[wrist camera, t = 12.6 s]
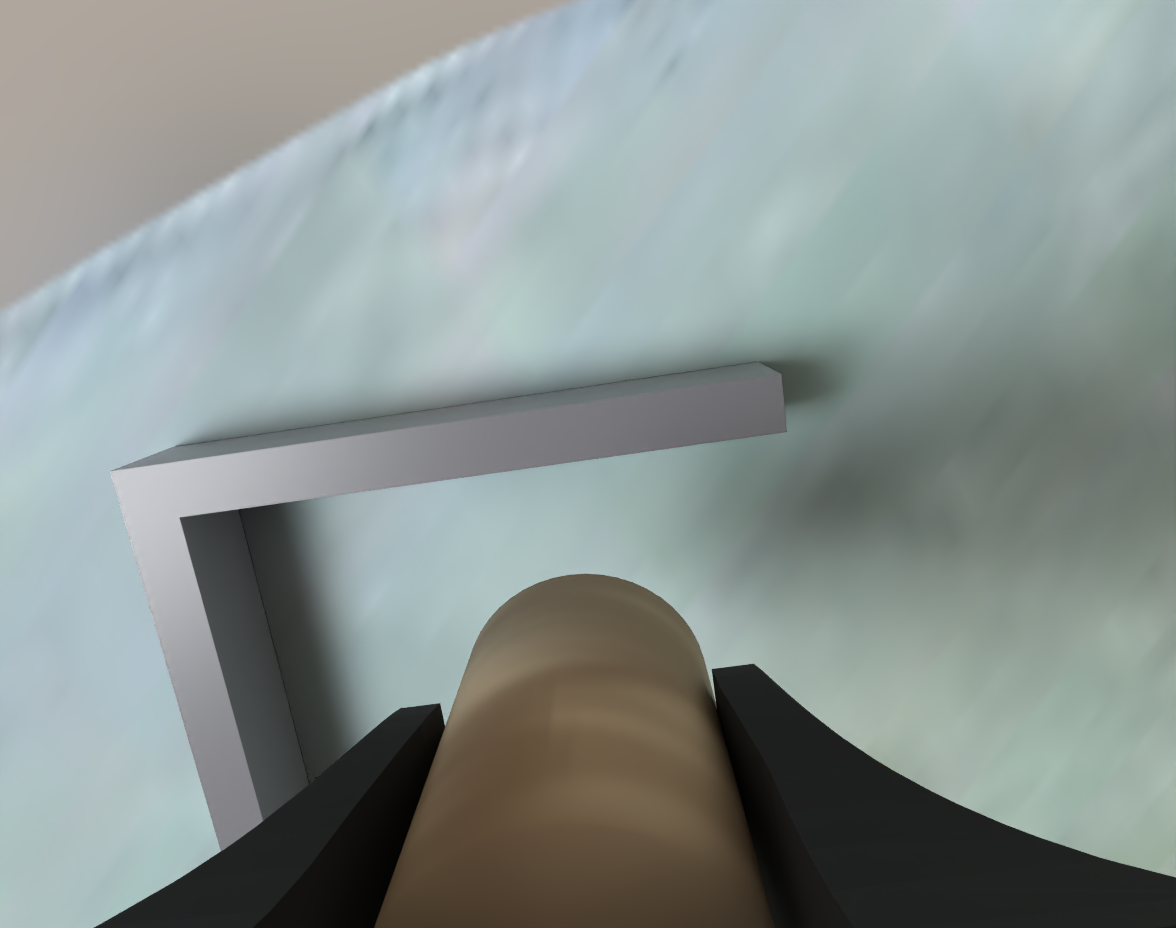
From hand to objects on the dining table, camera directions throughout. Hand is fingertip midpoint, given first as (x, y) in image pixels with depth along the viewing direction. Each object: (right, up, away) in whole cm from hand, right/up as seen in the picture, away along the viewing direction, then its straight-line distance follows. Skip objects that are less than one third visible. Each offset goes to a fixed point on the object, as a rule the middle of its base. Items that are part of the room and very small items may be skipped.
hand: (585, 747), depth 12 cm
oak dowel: (0, 0, +2) cm, 2 cm away
